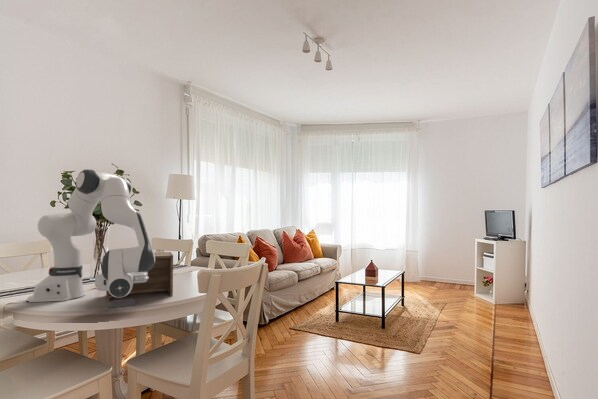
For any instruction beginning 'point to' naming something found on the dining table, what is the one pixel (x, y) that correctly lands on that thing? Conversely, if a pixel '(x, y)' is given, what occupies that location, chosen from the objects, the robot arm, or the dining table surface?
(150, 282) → the wooden bench shelf
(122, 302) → the mat
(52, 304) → the dining table surface
